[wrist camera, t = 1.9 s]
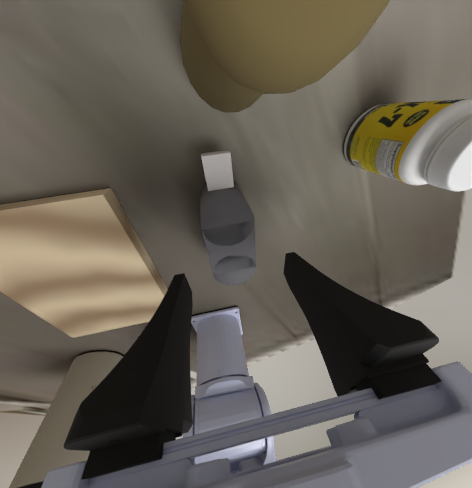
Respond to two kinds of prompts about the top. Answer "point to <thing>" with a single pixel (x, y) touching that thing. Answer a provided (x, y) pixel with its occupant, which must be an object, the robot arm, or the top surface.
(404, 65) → the top surface
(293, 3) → the cork
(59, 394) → the travel mug
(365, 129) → the supplement bottle
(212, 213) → the connector
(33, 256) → the wooden board
